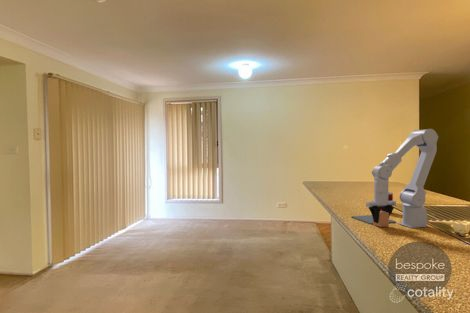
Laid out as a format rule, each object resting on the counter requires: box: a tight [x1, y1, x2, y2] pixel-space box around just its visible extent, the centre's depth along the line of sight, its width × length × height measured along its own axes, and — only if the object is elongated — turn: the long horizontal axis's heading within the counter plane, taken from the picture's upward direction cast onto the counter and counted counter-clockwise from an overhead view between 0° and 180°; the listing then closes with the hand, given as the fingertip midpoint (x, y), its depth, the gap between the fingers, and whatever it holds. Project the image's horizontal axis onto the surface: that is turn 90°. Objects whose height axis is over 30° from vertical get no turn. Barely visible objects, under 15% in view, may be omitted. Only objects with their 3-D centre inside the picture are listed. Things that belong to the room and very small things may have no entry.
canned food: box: [377, 191, 394, 214], centre depth 163 cm, size 8×8×11 cm
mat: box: [351, 214, 397, 225], centre depth 146 cm, size 14×14×1 cm
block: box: [372, 211, 390, 228], centre depth 135 cm, size 4×4×6 cm
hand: (380, 222), depth 135 cm, fingers closed on block, 4 cm apart
